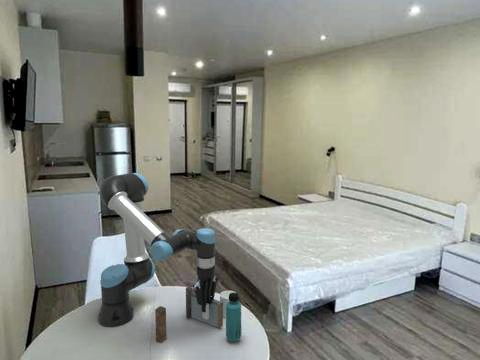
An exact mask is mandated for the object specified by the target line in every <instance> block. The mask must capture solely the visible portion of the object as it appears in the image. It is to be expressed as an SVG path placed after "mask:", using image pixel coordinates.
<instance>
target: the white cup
mask: <svg viewBox="0 0 480 360" xmlns="http://www.w3.org/2000/svg"><path fill="white" fill-rule="evenodd" d="M230 293H237V292H236V291H233V290H224V291H221V292H220V293H219V301H222V302H223V319H224V318H225V319H226V304H227V303H228V302H229V294H230Z"/></svg>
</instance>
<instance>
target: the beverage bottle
mask: <svg viewBox="0 0 480 360" xmlns="http://www.w3.org/2000/svg"><path fill="white" fill-rule="evenodd" d="M239 300H240V298H239V293H237V292H236V293H230V294H229V302H228V303H227V304H226V318H225V337H226V339H227V340H229V341H231V342H236V341H237V342H238V341H239V340H240V339H241V338H242V303H241V302H240V301H239Z"/></svg>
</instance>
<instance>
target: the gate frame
mask: <svg viewBox="0 0 480 360" xmlns="http://www.w3.org/2000/svg"><path fill="white" fill-rule="evenodd" d="M200 290H201V289H200ZM192 292H194V293H195V290H194V288H193V286H186V287H185V317H186V319H192V318H193V317H191V293H192ZM154 313H155V314H154V316H155V317H154V319H155V342H157V343H159V344H163V343H164V342H166V340H167V338H168V337H167V336H168V335H167V308H166V307H164V306H162V305H159V306H158V307H157V308H155V310H154Z"/></svg>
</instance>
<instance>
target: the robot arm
mask: <svg viewBox="0 0 480 360" xmlns="http://www.w3.org/2000/svg"><path fill="white" fill-rule="evenodd" d="M148 191H149V183H148V181H147V178H146V177H144V175H142V174H141V173H139V172H130V173H124V174H123V173H122V174H117V175H111V176H109V177H107V178H105V179H104V180H103V181H102V183H101V184H100V188H99V195H100V199H101V201H102V202H103V204H104V205H105V206H106V207H107V208H108V209H109V210H111V211H114V212H116V213H117V215H119V216H120V217H121V218H122V219H123V228H124V239H125V248H126V249H125V251H126V256H125V257H124V258H123V263H124V264H122V263H117V264H113V265H109V266H108V267H106V268H105V269H103V270H102V272H101V274H100V281H99V282H100V290H101V305H100V309H99V310H100V311H99V313H98V323H99V324H100V325H101V326H102V327H107V328H108V327H109V328H110V327H111V328H113V327H119V326H123V325H125V324H127V323H129V322H130V321H131V320H132V319H133V318H134V316H135V313H134V311H135V310H134V308H133V306H132V303H131V300H130V291H132V290H134V289H135V288H138V287H140V286H142V285H144V284H146V283H148V282H149V281H151V280H152V279H153V278H154V276H155V273H156V265H155V262H154V261H153V259H152V258H151V257H150V255H149V254H148V253H147V252H146V246H145V245H146V244H145V242H146V243H147V244H149V246H150V253H151V254H152V257H153V258H154V260H156V261H165V260H168V259H170V258H171V257H173V256H175V255H177V254H179V253H181V252H184V251H186V250H192V251H196V275H197V281H196V284H193V285H192V288H194V290H195V294H196V298H197V303H198V304H199V305H201V306H202V317H203V318H205V319H206V320H207V319H209V310H210V304H212V302H211V301H213V300H214V299H215V295H216V290H217V289H216V288H217V284H218V282H219V278H218V277H217V276H215V274H216V267H215V264H216V257H215V256H216V255H215V254H216V249H215V248H216V233H215V230H213V229H211V228H206V227H205V228H204V227H203V228H199V229H197V230H196V231H192V230H187V229H183V228H182V229H176V230H175V231H174V232H173V234H172V235H171V236H169V235H168V234H167V233H166V232H164V230H163V229H161V228H160V226H159V225H157V224H156V222H154V221H153V220H152V219H151V218H150V217H149V216H148V215H147V214H146V213H144V211H143V210H142V205H143V203H144V202H145V196H146V195H147V193H148ZM200 289H201V290H200Z"/></svg>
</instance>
